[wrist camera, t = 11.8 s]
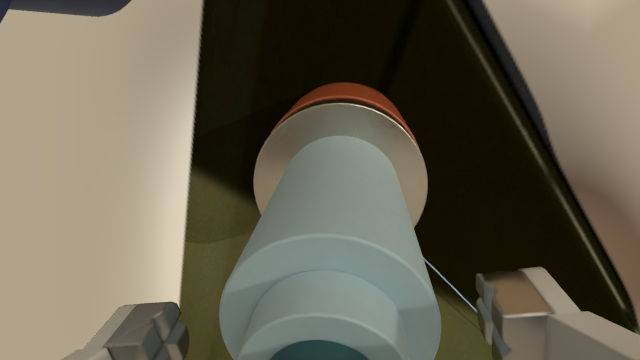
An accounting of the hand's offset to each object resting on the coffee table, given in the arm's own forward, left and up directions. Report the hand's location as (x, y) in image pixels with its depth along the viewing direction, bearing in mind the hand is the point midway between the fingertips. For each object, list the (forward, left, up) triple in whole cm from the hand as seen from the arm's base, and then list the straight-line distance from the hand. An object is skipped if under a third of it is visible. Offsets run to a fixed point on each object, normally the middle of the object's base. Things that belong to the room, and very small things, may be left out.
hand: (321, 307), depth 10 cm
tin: (0, 0, -17) cm, 17 cm away
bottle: (0, 0, -8) cm, 8 cm away
